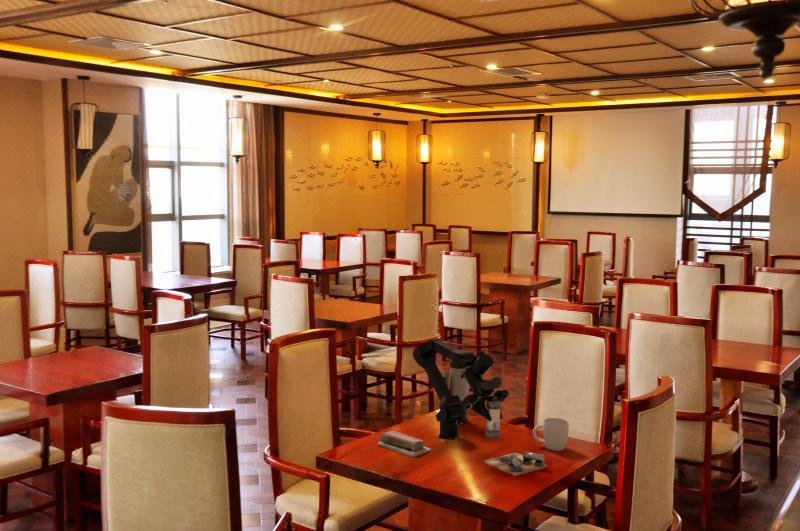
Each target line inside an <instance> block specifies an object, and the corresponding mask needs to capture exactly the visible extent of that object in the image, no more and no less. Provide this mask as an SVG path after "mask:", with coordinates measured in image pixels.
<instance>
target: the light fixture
mask: <svg viewBox="0 0 800 531" xmlns="http://www.w3.org/2000/svg"><path fill="white" fill-rule="evenodd" d="M449 369H450V370H444V372H443V374H441V375H442V377H443V379H444V380H445V382H446V384H447V386H448V388H449V390H450V392H451V394H452V395H454V396H455V395H458V396H459V398H460V400H461V402H462V400H463V399H464V398H465V397H466V396H467V395H469V384H468V382H467V380H466V378H463V379H461V374H462V371H465V370H466V369H467V368H461V369H458V368H457V367H456V366H454V365H453V364H452V362H451V360H450V359H449ZM466 422H468V423H469V417H468V409H465V410H464V412H463V416H462V419H461V420H459V421H458V423H465V424H467V423H466Z"/></svg>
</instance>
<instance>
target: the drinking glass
mask: <svg viewBox="0 0 800 531" xmlns="http://www.w3.org/2000/svg"><path fill="white" fill-rule="evenodd" d="M485 406H486V408H487V410H488V412H489V414H490V417H491V419H492V420H491V421H488V420H487V419H486V425H485V426H486V429H485V432H484V435H485V438H486V439H490V440H498V439H500V438H501V430H500V428H501V427H500V426H501V423H500V421H501V419H500V408H501V409H502V402H501V400H498V399H488V400H486V401H485Z"/></svg>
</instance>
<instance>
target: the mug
mask: <svg viewBox="0 0 800 531" xmlns="http://www.w3.org/2000/svg"><path fill="white" fill-rule="evenodd" d="M569 426H570V425H569V421H568V420H566V419H563V418H560V417H559V418H558V417H548V418H545V419H544V420H543V424H542V423H541V424H540V423H539V424H537V425H536V426H535V427H534V428H533V429H532V435H533V438H534V440H536V441H537V442H539V443H543V444H544V446H545V448H546V449H548V450H551V451H557V452H558V451H559V452H560V451H563V450H564V449H565V448H566V445H567V443H568V438H569ZM540 428H542V431H543V432H542V433H543V438H540V437H538V435H537V430H538V429H540Z"/></svg>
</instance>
